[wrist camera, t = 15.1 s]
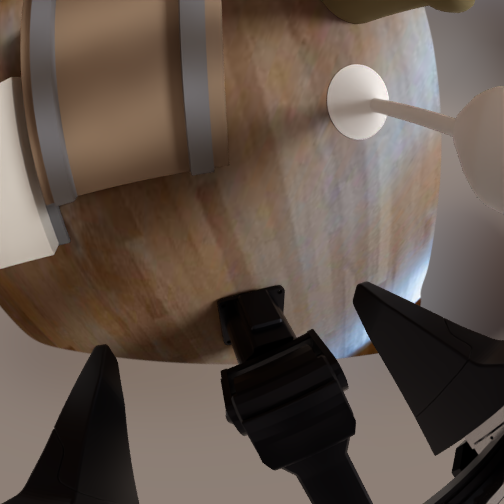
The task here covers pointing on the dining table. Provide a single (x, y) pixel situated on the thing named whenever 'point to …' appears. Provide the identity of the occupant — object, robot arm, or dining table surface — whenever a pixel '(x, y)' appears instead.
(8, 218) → the cover plate
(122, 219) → the dining table surface
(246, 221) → the dining table surface
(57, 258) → the dining table surface
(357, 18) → the cork
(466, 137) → the champagne flute
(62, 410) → the robot arm
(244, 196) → the dining table surface
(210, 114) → the lid box
